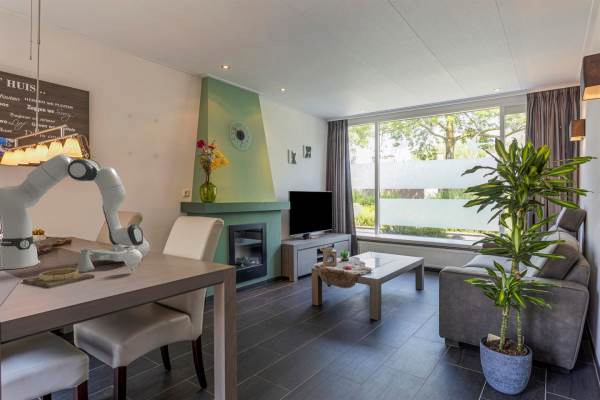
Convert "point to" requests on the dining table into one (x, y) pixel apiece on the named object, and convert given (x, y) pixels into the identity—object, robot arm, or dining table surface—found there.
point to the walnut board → (57, 283)
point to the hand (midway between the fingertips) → (92, 257)
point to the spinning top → (132, 258)
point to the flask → (85, 262)
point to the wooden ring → (67, 275)
